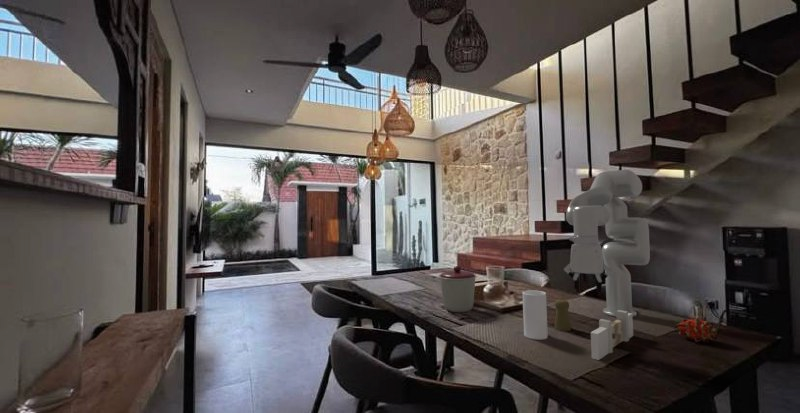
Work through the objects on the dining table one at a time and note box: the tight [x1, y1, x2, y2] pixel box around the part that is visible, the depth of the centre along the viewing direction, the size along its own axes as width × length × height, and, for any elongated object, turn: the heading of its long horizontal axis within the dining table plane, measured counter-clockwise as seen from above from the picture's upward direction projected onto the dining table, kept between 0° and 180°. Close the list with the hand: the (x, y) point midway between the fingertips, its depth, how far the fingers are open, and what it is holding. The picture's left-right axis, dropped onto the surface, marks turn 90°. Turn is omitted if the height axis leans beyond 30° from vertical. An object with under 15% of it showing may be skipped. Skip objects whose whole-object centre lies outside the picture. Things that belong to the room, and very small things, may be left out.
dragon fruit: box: [673, 316, 720, 343], centre depth 119 cm, size 8×8×12 cm
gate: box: [612, 319, 624, 348], centre depth 116 cm, size 12×2×7 cm, turn 129°
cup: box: [522, 289, 549, 341], centre depth 128 cm, size 8×8×16 cm
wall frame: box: [590, 310, 634, 361], centre depth 116 cm, size 31×3×10 cm, turn 129°
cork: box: [554, 299, 572, 332], centre depth 135 cm, size 6×6×11 cm
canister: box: [438, 265, 478, 313], centre depth 165 cm, size 18×18×21 cm
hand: (588, 291), depth 121 cm, fingers open, 5 cm apart
